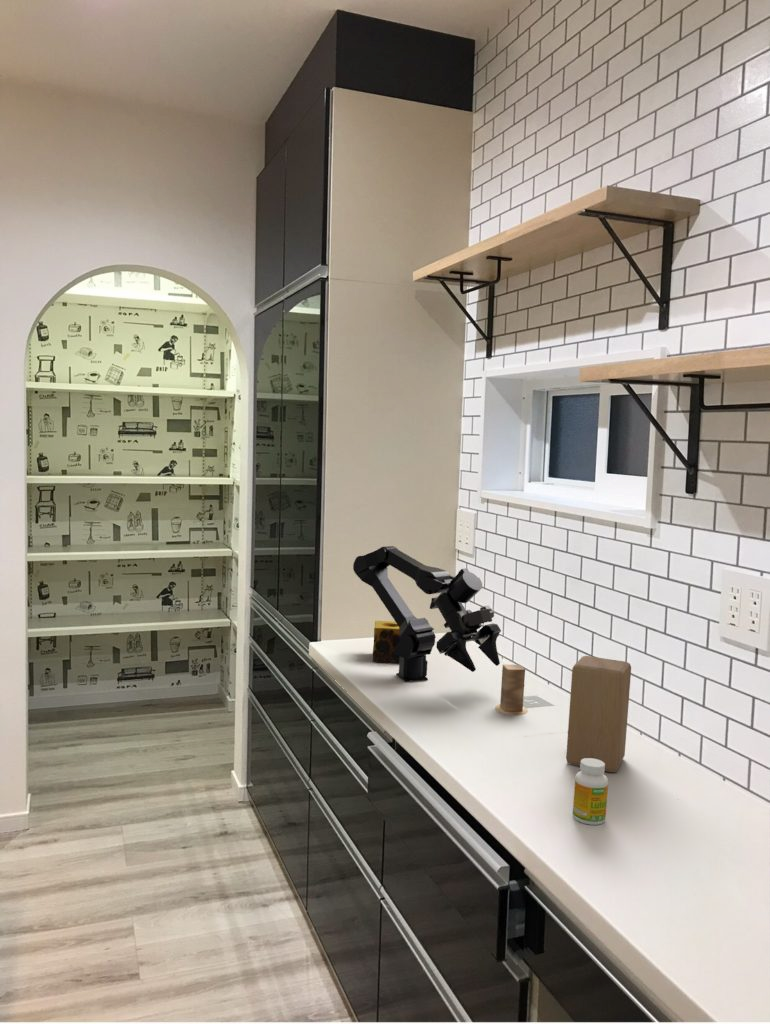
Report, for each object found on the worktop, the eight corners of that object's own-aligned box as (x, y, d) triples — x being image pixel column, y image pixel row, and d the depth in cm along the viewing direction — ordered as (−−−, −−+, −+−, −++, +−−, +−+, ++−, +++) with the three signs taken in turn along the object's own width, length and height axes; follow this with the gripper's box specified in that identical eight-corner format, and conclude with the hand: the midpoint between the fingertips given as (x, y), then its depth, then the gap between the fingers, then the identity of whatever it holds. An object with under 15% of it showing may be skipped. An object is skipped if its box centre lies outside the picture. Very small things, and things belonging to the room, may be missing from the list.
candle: (408, 665, 231) (410, 629, 231) (372, 663, 232) (373, 627, 231) (408, 655, 242) (409, 621, 241) (373, 653, 242) (374, 620, 241)
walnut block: (504, 711, 193) (507, 669, 192) (500, 705, 197) (502, 664, 196) (522, 711, 194) (525, 669, 193) (517, 706, 198) (520, 664, 197)
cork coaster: (505, 717, 190) (505, 715, 190) (489, 706, 197) (489, 705, 197) (533, 714, 193) (534, 712, 193) (516, 704, 200) (516, 702, 200)
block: (625, 758, 168) (632, 661, 167) (616, 775, 159) (624, 673, 158) (575, 748, 173) (582, 653, 171) (564, 764, 164) (571, 664, 162)
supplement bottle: (590, 828, 136) (594, 771, 136) (565, 815, 141) (569, 759, 140) (612, 821, 140) (616, 764, 139) (586, 808, 144) (590, 754, 143)
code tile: (525, 709, 197) (525, 707, 197) (508, 699, 204) (508, 697, 204) (554, 706, 200) (554, 705, 200) (536, 696, 207) (536, 695, 207)
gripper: (448, 599, 196) (482, 655, 189) (497, 591, 209) (530, 644, 202) (422, 625, 202) (453, 680, 195) (471, 616, 215) (502, 668, 209)
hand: (486, 667), depth 200 cm, fingers open, 9 cm apart
